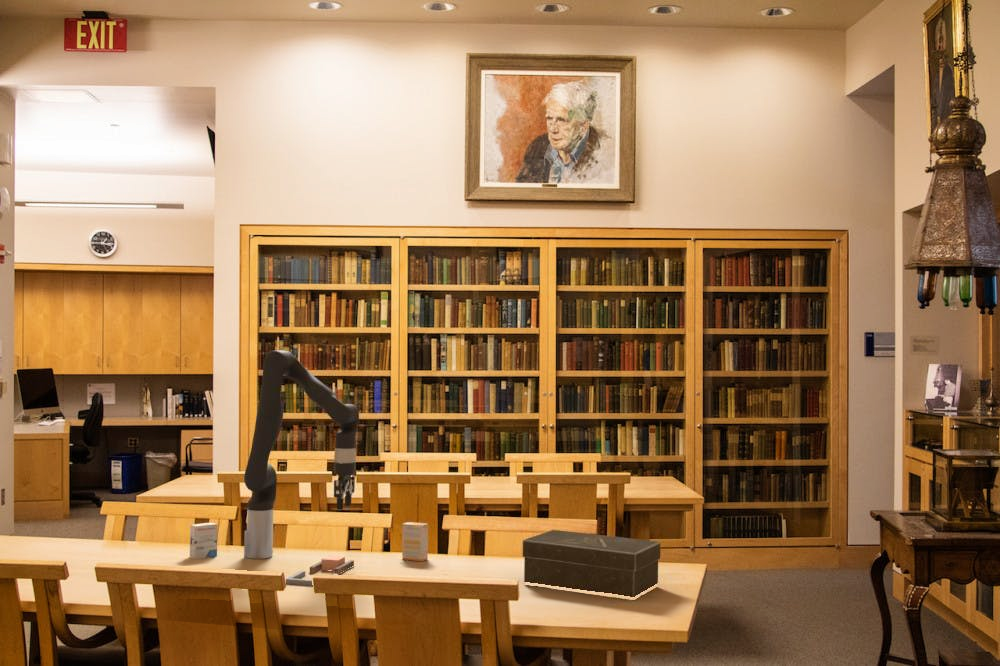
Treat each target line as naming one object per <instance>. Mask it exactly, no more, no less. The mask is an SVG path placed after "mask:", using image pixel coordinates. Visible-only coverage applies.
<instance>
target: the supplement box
mask: <svg viewBox="0 0 1000 666" xmlns="http://www.w3.org/2000/svg"><path fill="white" fill-rule="evenodd" d="M428 531H429V523H427V522H426V523H424V522H414V521H407V522H403V523H402V550H401V551H402V557H401V558H402V560H406V561H415V562H425V561H426V560H428V557H429V554H428V551H429V550H428V546H429V545H428V544H429V542H428V539H429V538H428V537H429V535H428V534H429V533H428Z"/></svg>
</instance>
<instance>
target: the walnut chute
mask: <svg viewBox="0 0 1000 666" xmlns="http://www.w3.org/2000/svg"><path fill="white" fill-rule="evenodd" d="M352 566H355V560H352V559H351V560H348V561H345V563H344V564H342V565H340V566H339V567H337V568H335V569H334V571H333V573H338V574H339V575H341V574H342V573H341V572H343V571H345V570H347V569H348V568H350V567H352ZM352 568H353V567H352ZM320 569H321V570H322V560H321V561H319V562H317V563H315V564H313V565H311V566H310V567H309V574H315V573H318V572H319V571H321V570H320ZM350 569H351V568H350ZM348 570H349V569H348ZM348 570H347V571H348ZM345 572H346V571H345ZM340 573H341V574H340ZM343 573H344V572H343Z"/></svg>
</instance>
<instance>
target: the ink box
mask: <svg viewBox="0 0 1000 666" xmlns="http://www.w3.org/2000/svg"><path fill="white" fill-rule="evenodd" d="M218 525H219V524H217V523H214V522H203V523H194V524H190V525H189V526H190V530H189V531H190V532H189V533H190V534H189V558H191V559H194V560H197V559H199V560H200V559H206V558H215V557H218V527H219V526H218Z"/></svg>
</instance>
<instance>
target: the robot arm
mask: <svg viewBox="0 0 1000 666" xmlns="http://www.w3.org/2000/svg"><path fill="white" fill-rule="evenodd" d="M283 377H287V378H288V379H289V380H292V381H294V382H295V383H296V384H297V385H298V386H299V387H300V388H301V389H302V391H304V393H305V394H306V396H307V397H308V398H309V399H310V400H311V401H313V402H314V403H315V404H316V405H318V406H319V407H320V408H321V409H323V410H324V411H325V413H326V414H327V416H328V417H329V418H331V420H332V421H333V422H335V423H336V424H338V425H340V426H339V430H338V431H337V432H336V434H335V437H334V439H335V441H334V442H335V443H334V444H335V445H334V447H335V448H334V456H333V457H334V458H333V459H334V460H333V473H334V475H336V476H338V477H337V480H336V479H335V480H334V481H333V498H335V499H336V509H337V510H344V506H345V507H351V506H352V496H353V494H354V493H355V489H356V488H355V485H356V481H355V480H356V477H355V474H356V470H357V469H356V468H357V465H356V464H357V463H356V462H357V461H356V460H357V451H356V436H357V431H358V428H359V427H358V426H359V421H360V412H359V409H358V407H357V406H356V405H355V404H352V403H343V402H342V401H340V400H339V396H338V395H337V393H336V392H334V391H333V390H332V389H331V388H329V387H328V386H327V385H325V384H324V383H323V382H322V381H320V380H319V379H318V378H317V377H316V376H314V375H313V374H312V373H311V372H310V371H309V370H308V369H307V368H306V367H305V366H304V365H303V364H302V363H301V362H300V361H299V359H298V358H297V357H296V356H295V355H294V354H293V353H292V352H291V351H289V350H282V349H281V350H280V349H279V350H278V349H277V350H271V351H269V352H268V353H267V354H266V355H265V357H264V360H263V365H262V378H261V379H262V381H261V388H260V389H261V390H260V397H259V401H258V407H257V413H256V418H255V423H254V425H255V426H254V432H253V437H252V443H251V449H250V453H249V457H248V460H247V464H246V468H245V472H244V476H243V477H244V478H243V479H244V484H245V486H246V488H247V489H248V491H250V492H252V494H251V497H250V498H249V500H248V501H247V505H246V507H247V508H246V509H247V512H246V514H247V515H246V517H247V518H246V530H244V541H243V543H244V545H243V547H244V548H243V549H244V551H243V557H244V558H247V559H252V560H253V559H254V560H255V559H256V560H259V559H262V560H263V559H269V558H272V557H273V556H274V555H273V553H274V550H273V547H274V543H273V542H274V505H275V501H276V498H277V484H278V478H277V477H278V475H277V472H276V470H275V467H274V466H272V465H271V464H269V459H270V454H271V452H272V450H273V447H274V446H275V444H276V442H277V439H278V438H279V436H280V433H281V430H282V424H283V419H284V407H283V401H282V397H281V388H282V383H283Z"/></svg>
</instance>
